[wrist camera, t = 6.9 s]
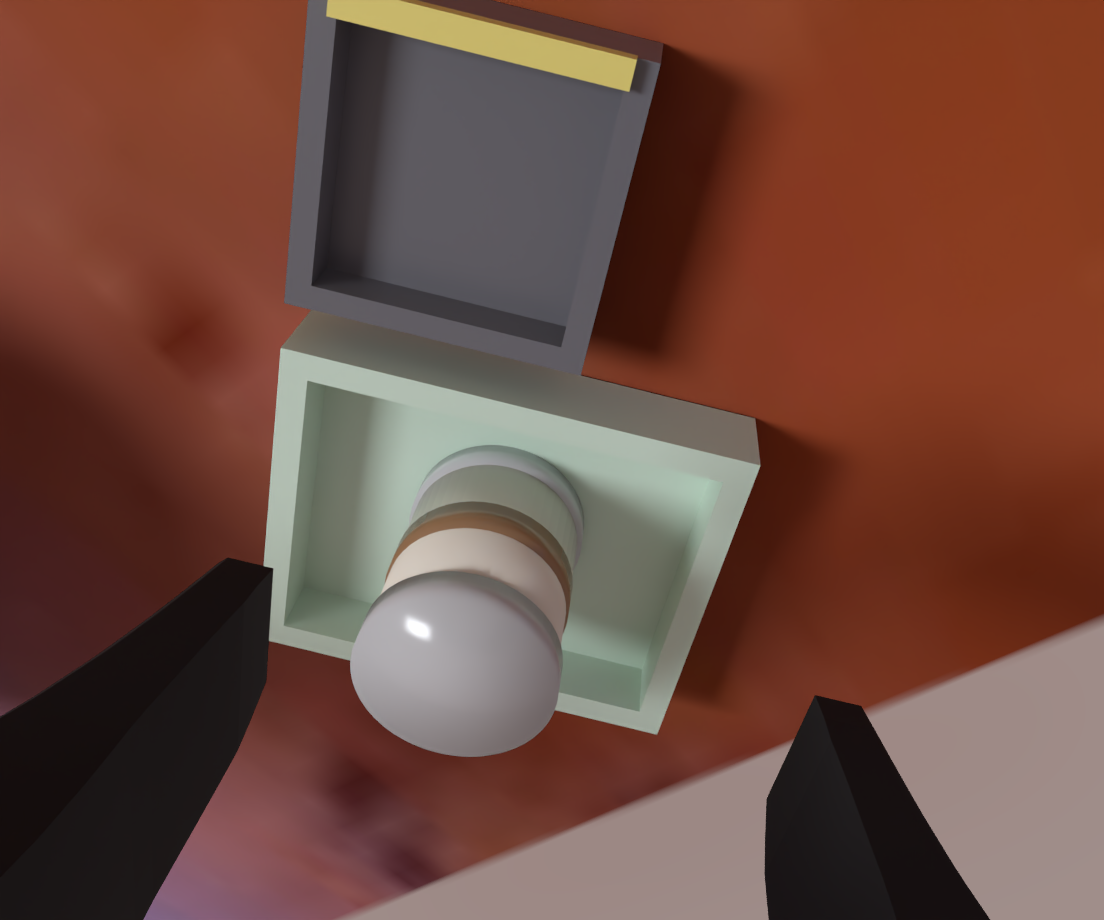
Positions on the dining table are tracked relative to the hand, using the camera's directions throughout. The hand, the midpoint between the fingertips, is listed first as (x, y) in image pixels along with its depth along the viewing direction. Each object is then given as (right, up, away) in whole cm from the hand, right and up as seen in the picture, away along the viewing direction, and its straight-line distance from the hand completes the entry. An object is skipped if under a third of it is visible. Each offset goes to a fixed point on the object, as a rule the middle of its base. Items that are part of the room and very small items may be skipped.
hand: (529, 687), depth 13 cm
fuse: (-1, +2, +11) cm, 11 cm away
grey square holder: (-1, +9, +7) cm, 11 cm away
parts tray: (-1, +2, +11) cm, 11 cm away
